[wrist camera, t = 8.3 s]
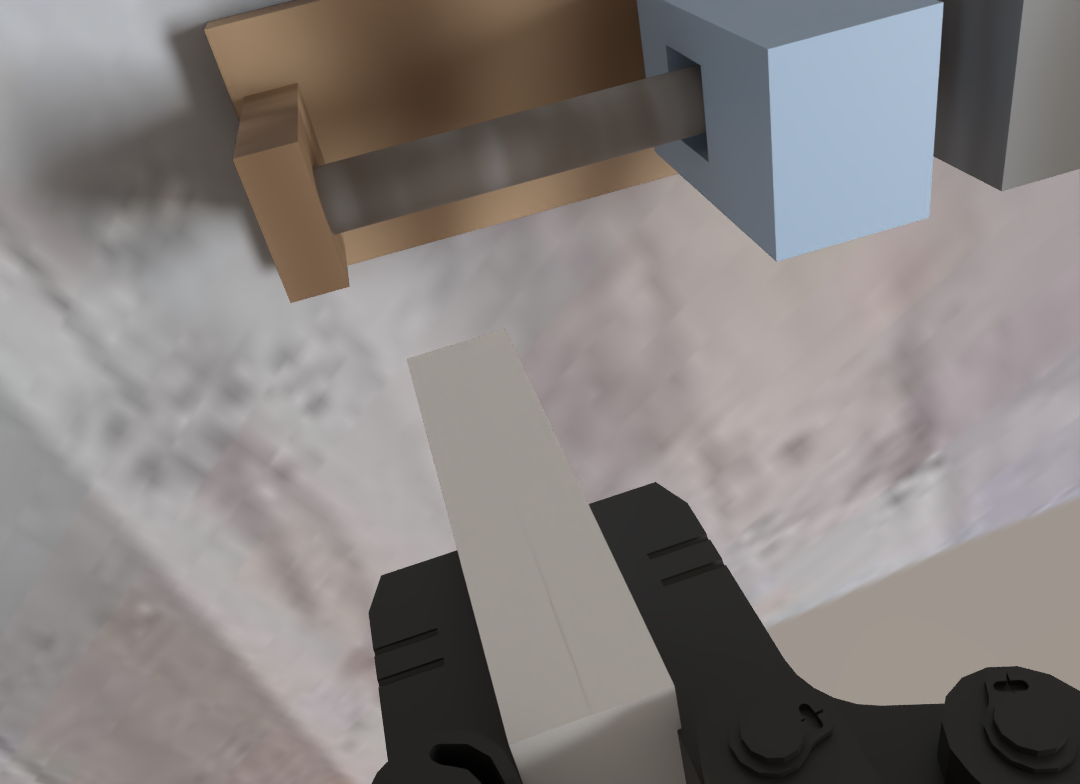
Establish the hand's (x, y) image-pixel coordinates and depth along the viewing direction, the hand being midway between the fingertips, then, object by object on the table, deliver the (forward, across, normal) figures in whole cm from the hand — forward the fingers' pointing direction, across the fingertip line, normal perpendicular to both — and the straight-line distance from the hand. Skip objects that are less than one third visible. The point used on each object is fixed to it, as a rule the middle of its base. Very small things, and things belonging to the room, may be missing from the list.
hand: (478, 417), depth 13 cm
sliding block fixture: (+18, +7, 0) cm, 19 cm away
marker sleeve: (+15, +10, 0) cm, 18 cm away
